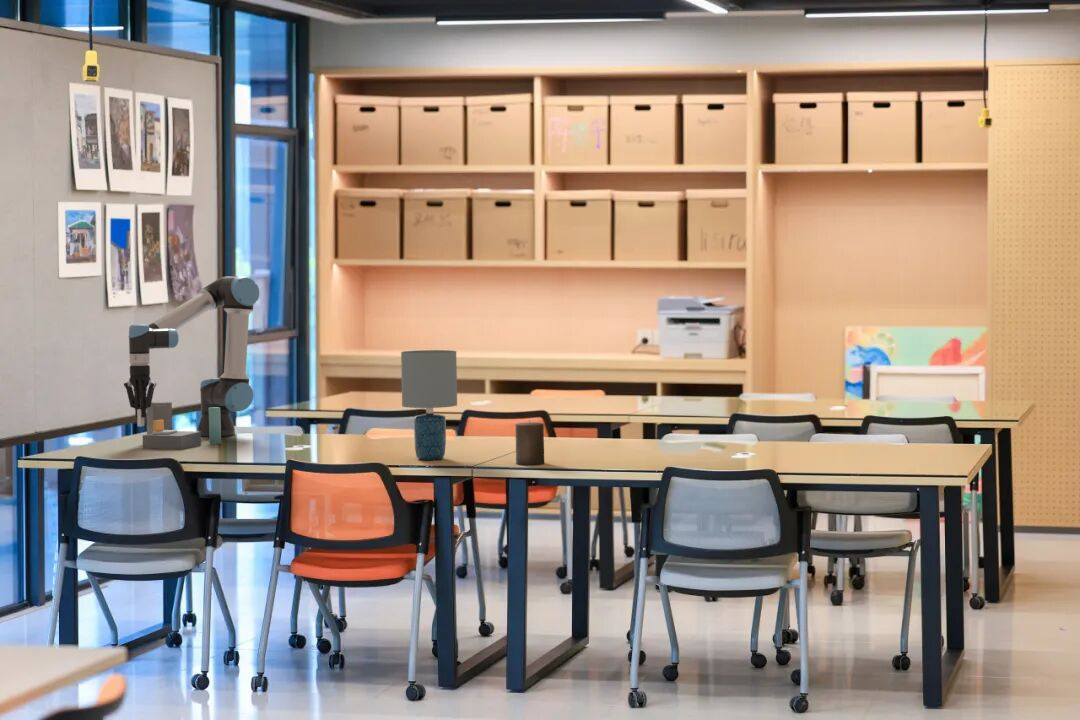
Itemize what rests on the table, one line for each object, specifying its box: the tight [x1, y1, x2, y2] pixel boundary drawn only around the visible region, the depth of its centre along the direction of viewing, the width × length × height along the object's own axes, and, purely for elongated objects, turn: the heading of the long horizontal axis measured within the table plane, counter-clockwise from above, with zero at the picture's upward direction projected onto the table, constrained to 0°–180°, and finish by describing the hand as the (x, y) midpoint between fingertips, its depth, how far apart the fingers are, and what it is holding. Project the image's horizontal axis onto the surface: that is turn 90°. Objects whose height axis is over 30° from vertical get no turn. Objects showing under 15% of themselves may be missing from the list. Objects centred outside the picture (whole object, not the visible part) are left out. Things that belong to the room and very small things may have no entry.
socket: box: [141, 430, 202, 450], centre depth 606 cm, size 16×16×5 cm
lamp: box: [400, 349, 458, 461], centre depth 555 cm, size 19×19×38 cm
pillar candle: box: [514, 419, 545, 466], centre depth 539 cm, size 10×10×15 cm
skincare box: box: [146, 401, 173, 434], centre depth 623 cm, size 8×7×16 cm
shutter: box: [152, 420, 178, 434], centre depth 606 cm, size 7×7×5 cm
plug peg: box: [208, 407, 222, 445], centre depth 614 cm, size 4×4×14 cm
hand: (141, 426), depth 609 cm, fingers closed
